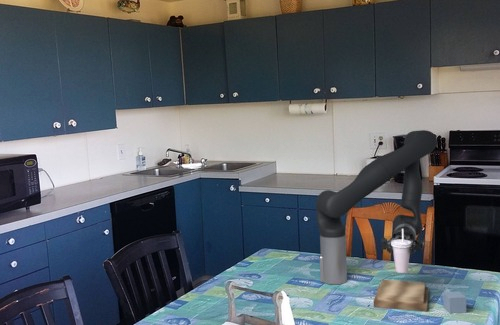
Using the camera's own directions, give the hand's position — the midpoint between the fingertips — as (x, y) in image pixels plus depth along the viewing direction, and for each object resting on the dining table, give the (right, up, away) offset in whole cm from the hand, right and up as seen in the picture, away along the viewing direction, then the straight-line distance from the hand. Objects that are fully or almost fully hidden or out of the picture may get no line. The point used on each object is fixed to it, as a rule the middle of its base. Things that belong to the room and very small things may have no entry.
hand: (400, 250), depth 166 cm
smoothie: (+1, -7, +3) cm, 8 cm away
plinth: (+2, -17, +4) cm, 17 cm away
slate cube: (+15, -17, -6) cm, 24 cm away
